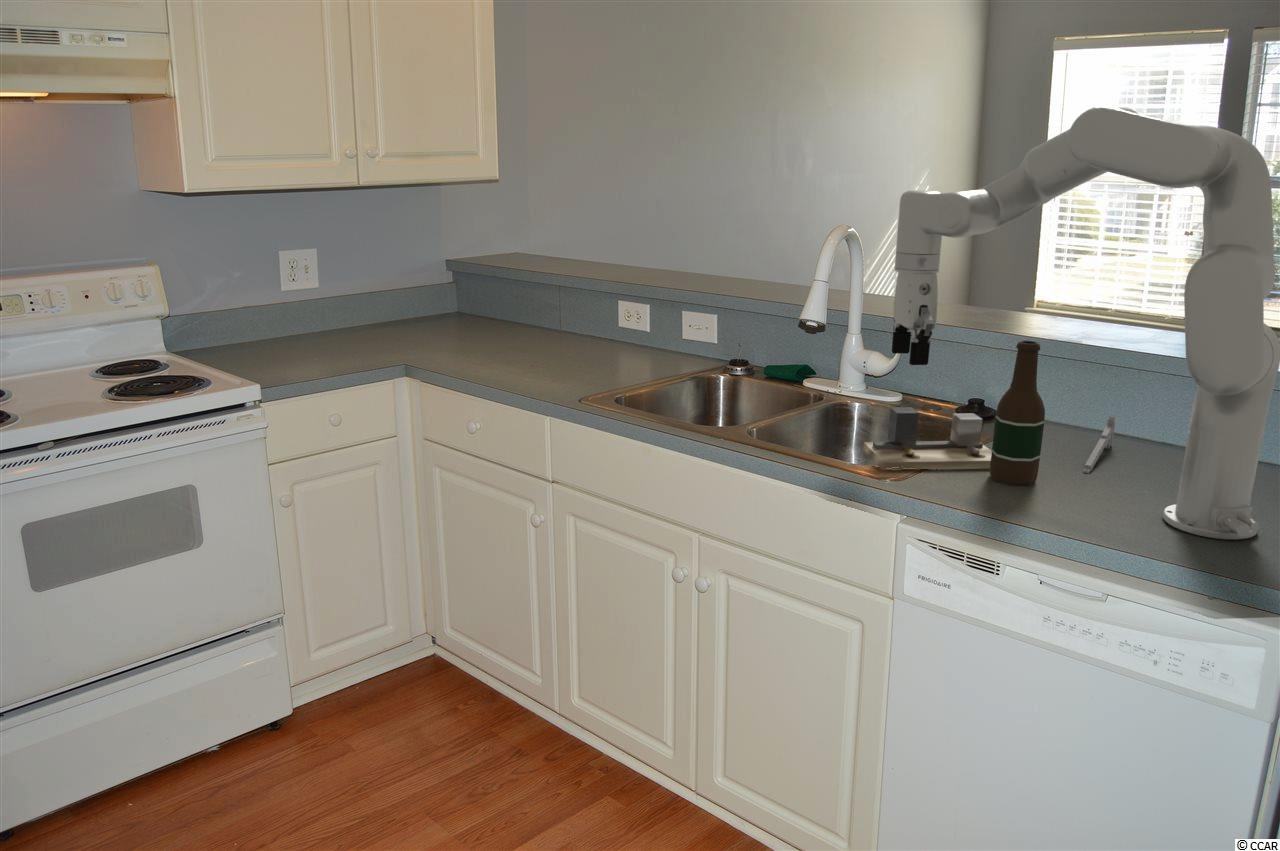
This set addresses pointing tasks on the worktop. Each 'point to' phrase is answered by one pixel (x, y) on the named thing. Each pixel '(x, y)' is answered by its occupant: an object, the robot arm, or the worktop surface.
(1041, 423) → the beer bottle
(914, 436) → the block
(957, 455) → the board
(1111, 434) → the caliper
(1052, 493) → the worktop surface
